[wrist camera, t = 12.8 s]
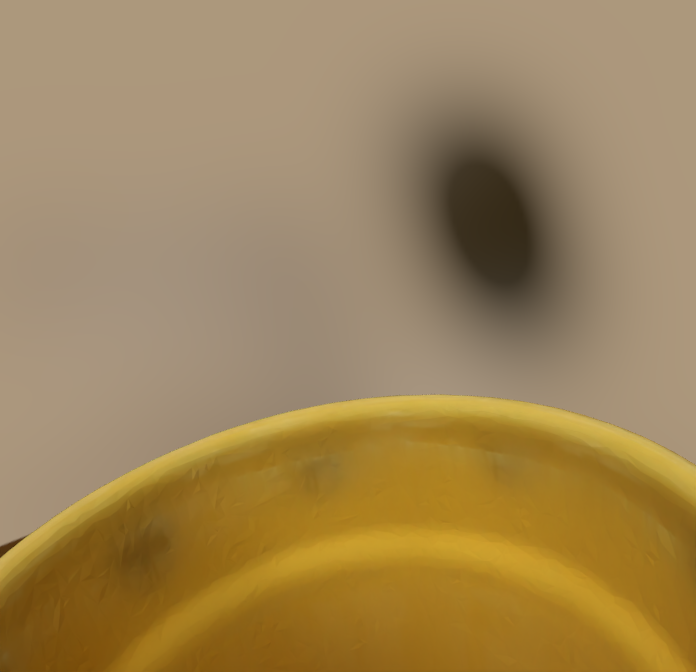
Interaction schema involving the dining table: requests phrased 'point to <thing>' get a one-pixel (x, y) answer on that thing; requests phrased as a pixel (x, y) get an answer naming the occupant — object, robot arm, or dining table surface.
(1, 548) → the dining table surface
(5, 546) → the dining table surface
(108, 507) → the plant pot
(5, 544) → the dining table surface
